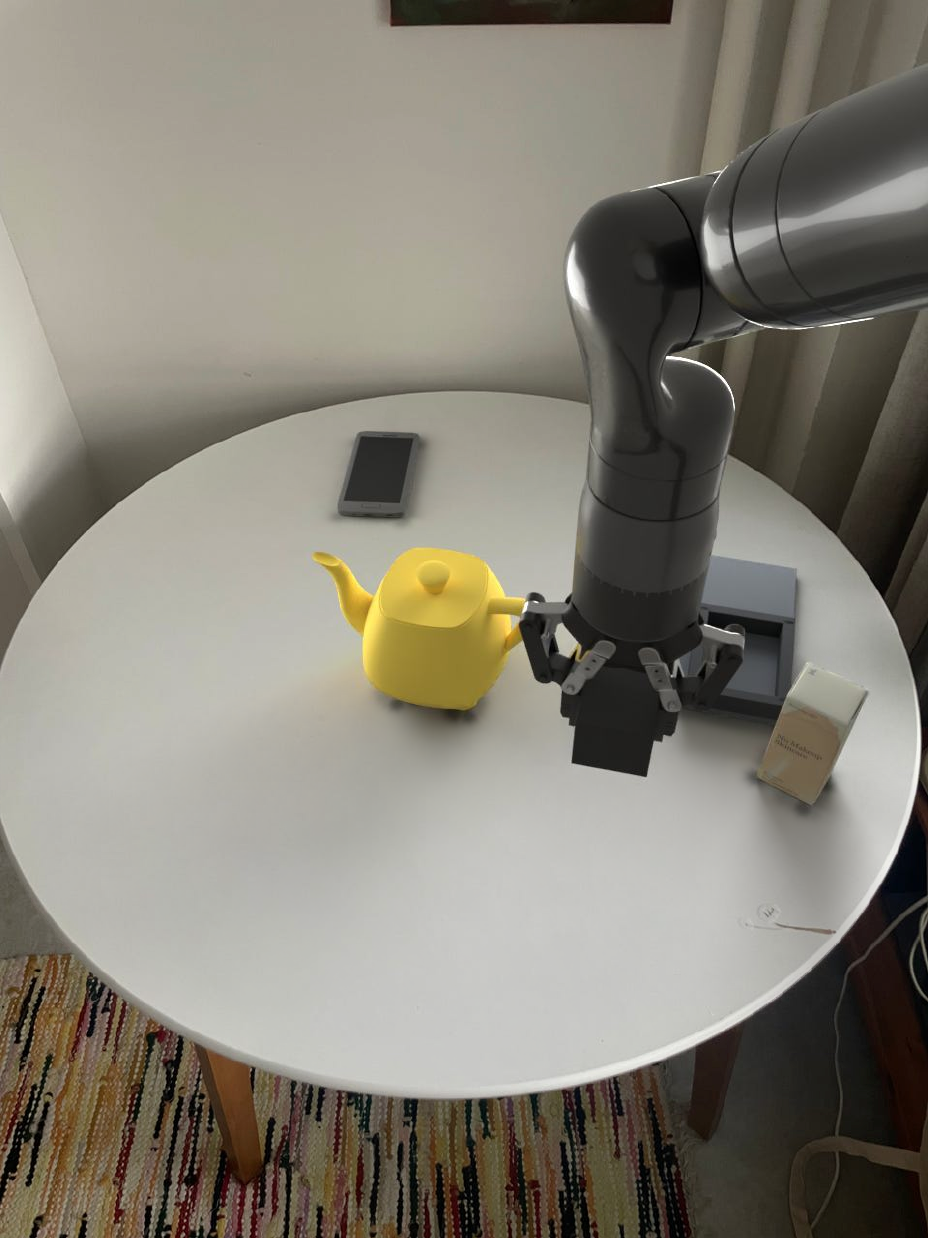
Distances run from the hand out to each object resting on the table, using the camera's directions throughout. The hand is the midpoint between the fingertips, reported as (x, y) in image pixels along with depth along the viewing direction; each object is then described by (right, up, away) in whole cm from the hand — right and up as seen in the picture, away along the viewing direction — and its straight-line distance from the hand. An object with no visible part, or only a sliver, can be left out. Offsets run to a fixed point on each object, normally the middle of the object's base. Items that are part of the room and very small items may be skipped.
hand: (617, 723), depth 70 cm
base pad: (+11, +6, +26) cm, 29 cm away
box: (+17, -6, +15) cm, 24 cm away
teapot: (-13, +3, +24) cm, 28 cm away
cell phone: (-20, +23, +43) cm, 53 cm away
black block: (0, 0, 0) cm, 1 cm away
